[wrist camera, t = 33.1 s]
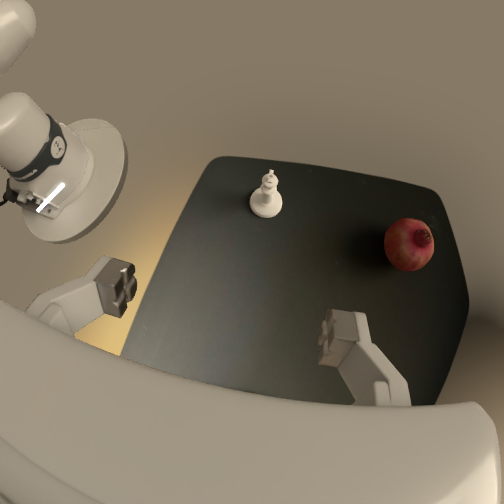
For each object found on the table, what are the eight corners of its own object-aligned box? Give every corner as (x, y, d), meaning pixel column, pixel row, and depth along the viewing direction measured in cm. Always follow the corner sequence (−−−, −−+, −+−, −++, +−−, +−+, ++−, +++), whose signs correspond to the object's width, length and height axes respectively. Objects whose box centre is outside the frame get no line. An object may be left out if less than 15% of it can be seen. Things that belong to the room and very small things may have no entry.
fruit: (373, 272, 41) (405, 262, 31) (374, 222, 42) (404, 201, 33) (414, 276, 41) (450, 268, 31) (414, 229, 42) (448, 212, 33)
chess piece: (284, 191, 43) (293, 160, 33) (279, 220, 42) (288, 195, 32) (253, 185, 43) (254, 153, 33) (247, 214, 42) (246, 188, 32)
